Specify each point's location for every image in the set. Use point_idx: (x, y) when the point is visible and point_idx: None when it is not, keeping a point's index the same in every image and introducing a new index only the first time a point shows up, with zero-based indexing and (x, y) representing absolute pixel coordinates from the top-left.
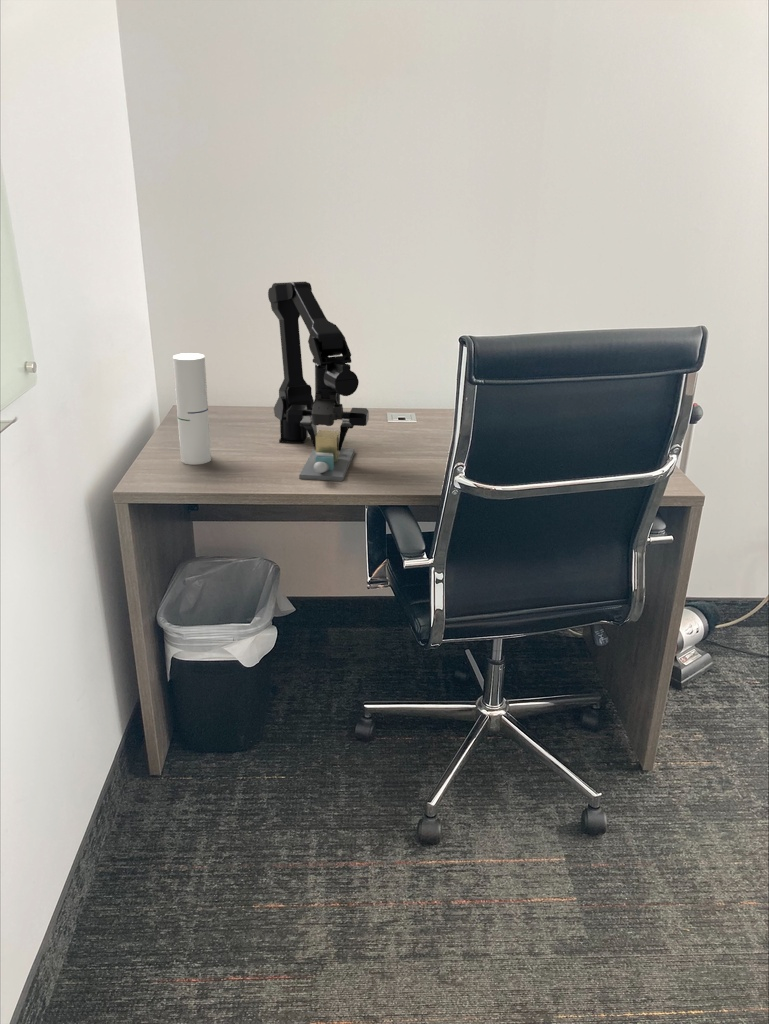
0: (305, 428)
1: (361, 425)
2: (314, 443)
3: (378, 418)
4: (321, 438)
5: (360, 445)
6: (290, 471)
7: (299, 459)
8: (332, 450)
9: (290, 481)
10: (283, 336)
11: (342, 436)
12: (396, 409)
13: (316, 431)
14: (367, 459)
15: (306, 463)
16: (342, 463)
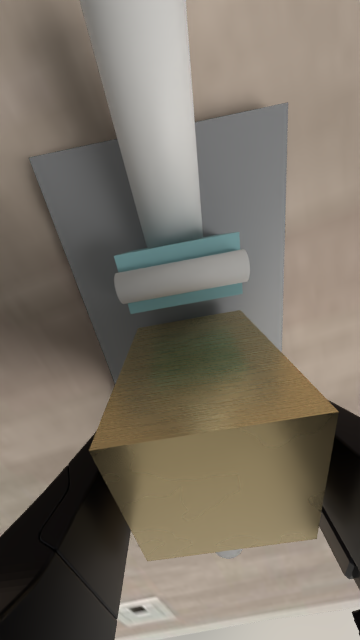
0: (342, 540)
1: None
2: None
3: (181, 602)
4: (257, 407)
5: None
6: (333, 222)
7: (311, 365)
8: (153, 356)
9: (319, 43)
10: None
11: (63, 491)
12: (166, 628)
13: (335, 515)
14: (87, 430)
15: (278, 300)
16: (127, 349)
